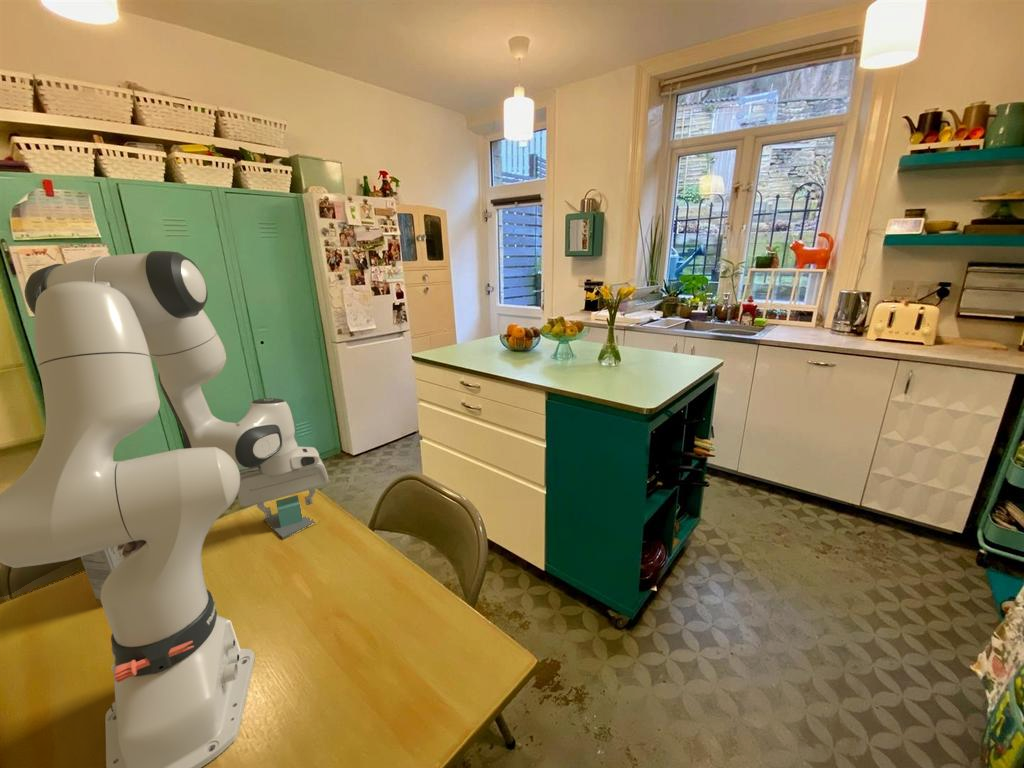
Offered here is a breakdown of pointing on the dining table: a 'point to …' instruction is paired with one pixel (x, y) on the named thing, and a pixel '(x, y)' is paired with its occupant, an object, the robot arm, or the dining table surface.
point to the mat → (289, 529)
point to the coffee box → (107, 563)
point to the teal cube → (289, 511)
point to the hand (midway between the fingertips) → (289, 509)
